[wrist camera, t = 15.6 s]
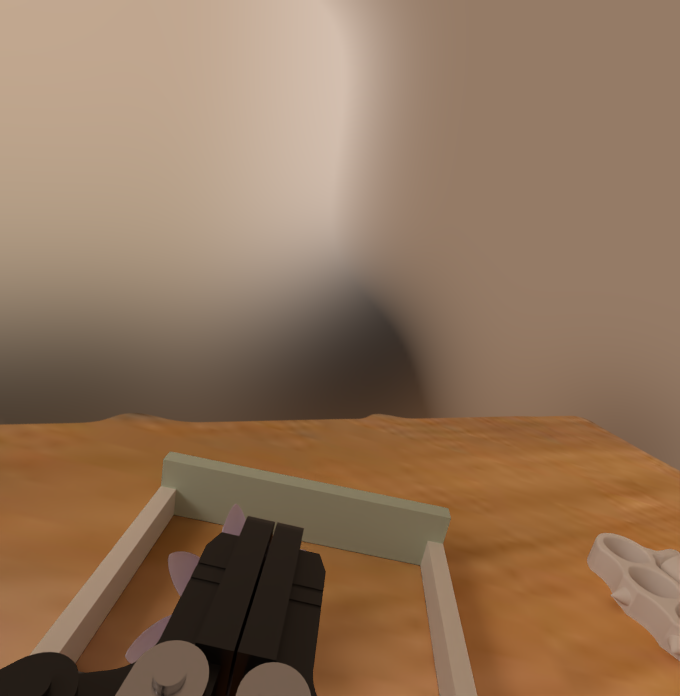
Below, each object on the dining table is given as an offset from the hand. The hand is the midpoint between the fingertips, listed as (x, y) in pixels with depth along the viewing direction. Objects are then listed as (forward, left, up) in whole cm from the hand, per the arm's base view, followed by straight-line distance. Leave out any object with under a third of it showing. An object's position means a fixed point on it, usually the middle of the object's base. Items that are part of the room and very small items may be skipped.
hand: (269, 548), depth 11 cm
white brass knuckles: (+27, -39, -23) cm, 53 cm away
